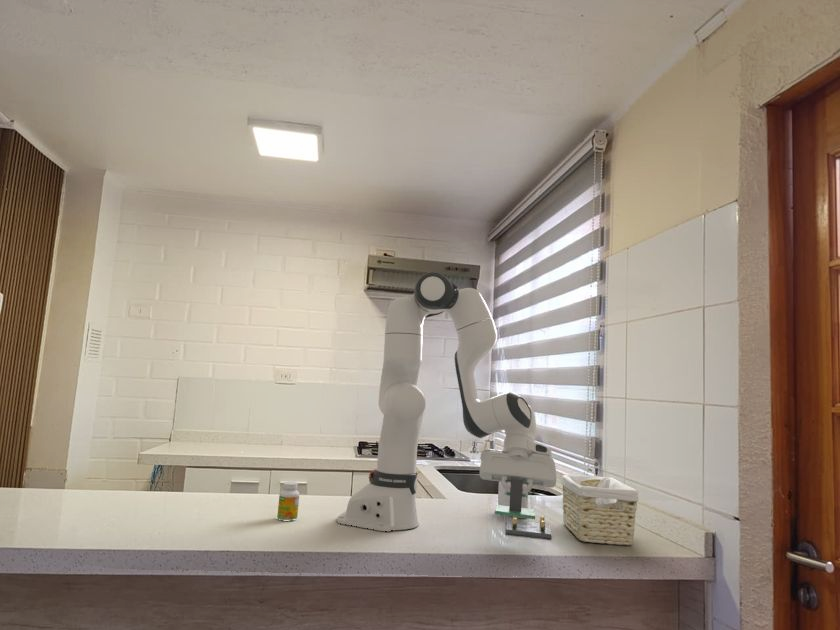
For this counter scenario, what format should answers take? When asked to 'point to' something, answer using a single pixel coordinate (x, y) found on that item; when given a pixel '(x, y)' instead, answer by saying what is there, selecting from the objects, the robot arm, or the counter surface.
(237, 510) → the counter surface
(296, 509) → the supplement bottle
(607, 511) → the storage basket
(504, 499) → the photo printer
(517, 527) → the chassis
